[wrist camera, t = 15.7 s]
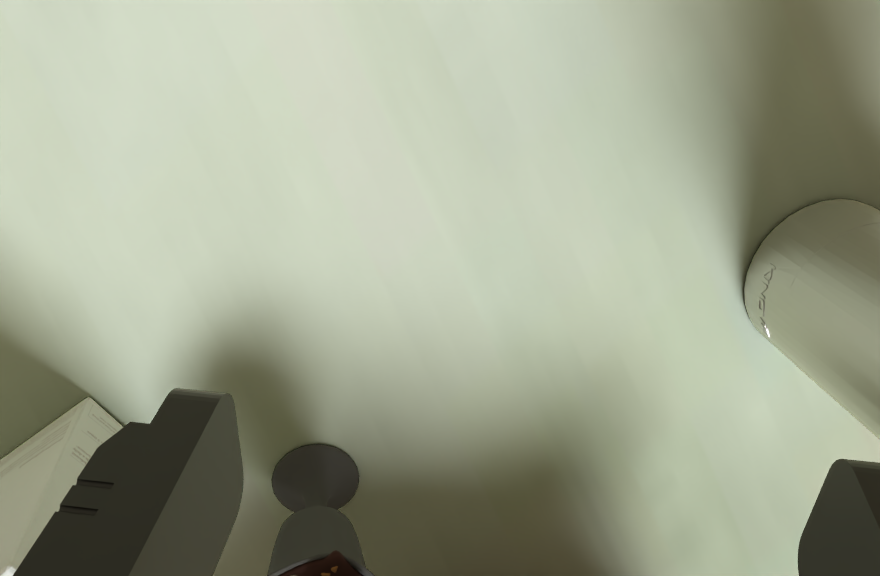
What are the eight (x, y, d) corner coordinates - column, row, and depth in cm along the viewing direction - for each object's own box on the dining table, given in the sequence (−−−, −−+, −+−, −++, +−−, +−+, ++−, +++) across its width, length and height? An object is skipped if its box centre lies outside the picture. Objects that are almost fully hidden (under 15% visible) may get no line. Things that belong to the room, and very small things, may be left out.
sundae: (296, 543, 48) (291, 785, 34) (234, 465, 45) (202, 694, 31) (393, 494, 47) (428, 719, 34) (337, 411, 45) (351, 621, 31)
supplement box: (-17, 467, 43) (-136, 662, 31) (91, 391, 42) (9, 563, 30) (85, 549, 46) (10, 754, 34) (187, 480, 45) (146, 666, 33)
